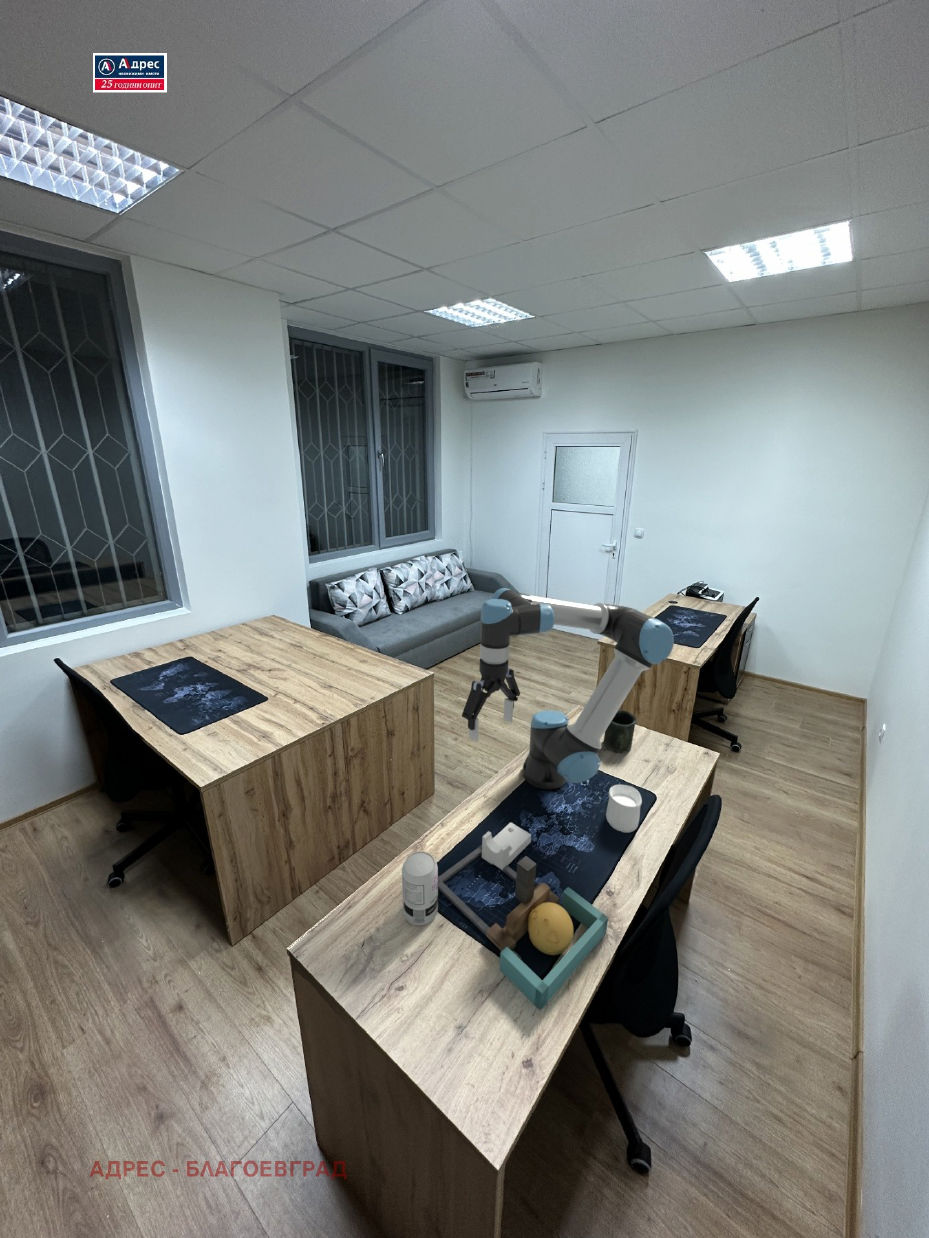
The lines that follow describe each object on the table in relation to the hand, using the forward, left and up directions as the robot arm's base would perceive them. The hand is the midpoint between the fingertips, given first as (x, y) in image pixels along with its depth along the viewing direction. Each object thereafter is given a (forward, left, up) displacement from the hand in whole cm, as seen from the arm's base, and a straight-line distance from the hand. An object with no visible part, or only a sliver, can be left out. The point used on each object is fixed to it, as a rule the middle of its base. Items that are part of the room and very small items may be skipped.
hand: (491, 729), depth 134 cm
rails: (+17, +20, -32) cm, 41 cm away
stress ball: (+17, +36, -32) cm, 51 cm away
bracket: (+4, +11, -32) cm, 34 cm away
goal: (+17, +37, -32) cm, 52 cm away
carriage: (+17, +29, -31) cm, 46 cm away
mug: (-66, +5, -32) cm, 74 cm away
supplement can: (+33, +10, -32) cm, 47 cm away
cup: (-30, +27, -32) cm, 51 cm away
